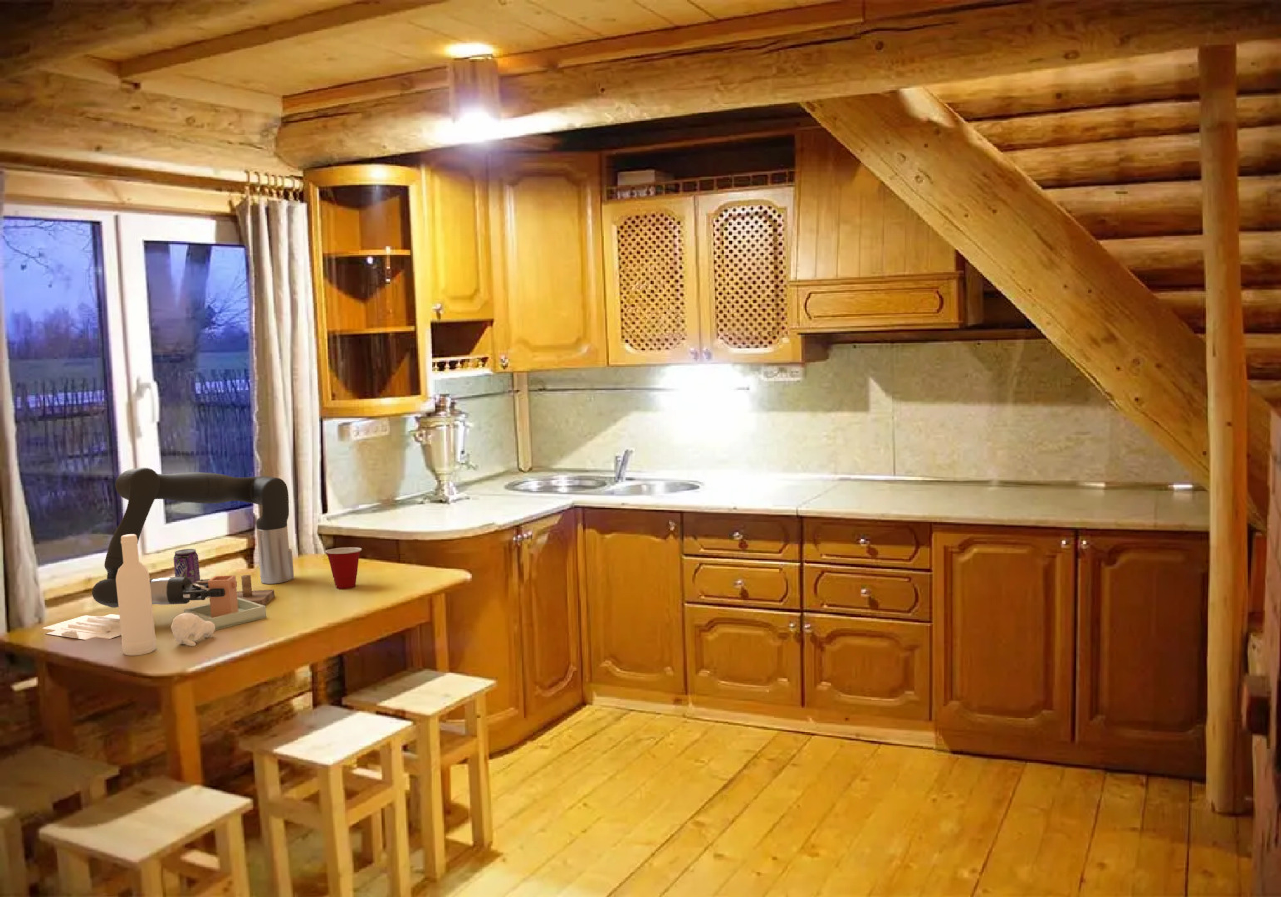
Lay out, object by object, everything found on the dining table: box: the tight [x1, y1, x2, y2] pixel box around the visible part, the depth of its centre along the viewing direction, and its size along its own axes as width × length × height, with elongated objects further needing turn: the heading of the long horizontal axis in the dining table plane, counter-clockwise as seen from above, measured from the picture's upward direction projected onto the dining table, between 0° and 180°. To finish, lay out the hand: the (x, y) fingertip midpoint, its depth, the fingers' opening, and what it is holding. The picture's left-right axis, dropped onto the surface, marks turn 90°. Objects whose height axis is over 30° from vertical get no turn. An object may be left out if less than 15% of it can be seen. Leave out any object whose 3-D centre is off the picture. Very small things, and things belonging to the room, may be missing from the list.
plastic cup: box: [324, 546, 362, 590], centre depth 344 cm, size 11×11×12 cm
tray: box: [183, 597, 267, 631], centre depth 312 cm, size 16×16×3 cm
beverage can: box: [173, 548, 201, 584], centre depth 349 cm, size 7×7×12 cm
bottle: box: [116, 534, 157, 657], centre depth 284 cm, size 8×8×30 cm
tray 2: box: [42, 613, 121, 641], centre depth 310 cm, size 20×28×4 cm
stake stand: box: [237, 574, 276, 606], centre depth 330 cm, size 12×12×8 cm
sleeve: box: [208, 574, 238, 618], centre depth 312 cm, size 6×6×11 cm
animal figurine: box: [170, 612, 216, 647], centre depth 292 cm, size 6×8×12 cm
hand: (229, 588), depth 312 cm, fingers open, 8 cm apart
